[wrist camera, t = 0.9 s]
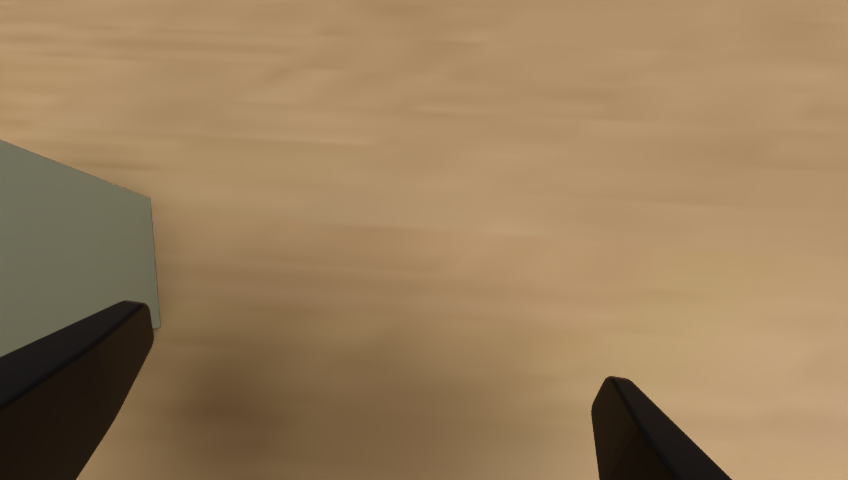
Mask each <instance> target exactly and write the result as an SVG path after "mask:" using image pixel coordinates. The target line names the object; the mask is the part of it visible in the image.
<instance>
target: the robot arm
mask: <svg viewBox="0 0 848 480" xmlns="http://www.w3.org/2000/svg"><path fill="white" fill-rule="evenodd" d="M153 340H154V333H153V326H152V320H151V313H150V308H149V306H148V305H147V304H146V303H143V302H137V301H130V300H124V301H121V302H118V303H116V304H114V305H112V306H110V307H107V308H105V309H103V310H101V311H99V312H97V313H94V314H92V315H90V316H88V317H86V318H84V319H81V320H79V321H77V322H75V323H73V324H71V325H68V326H66V327H64V328H62V329H60V330H58V331H55V332H53V333H51V334H49V335H47V336H45V337H42V338H40V339H38V340H36V341H34V342H32V343H29V344H27V345H25V346H23V347H21V348H19V349H16V350H14V351H12V352H10V353H8V354H6V355H3V356H1V357H0V480H76V479H77V477H78V476H79V474H80V473H81V471H82V469H83V468H84V466H85V465H86V463H87V462H88V460H89V459H90V457H91V456H92V454H93V453H94V451H95V449H96V448H97V446H98V445H99V443H100V442H101V440H102V439H103V437H104V436H105V434H106V432H107V431H108V429H109V428H110V426H111V424H112V423H113V421H114V420H115V418H116V416H117V414H118V412H119V410H120V408H121V407H122V405H123V403H124V401H125V399H126V397H127V395H128V393H129V391H130V389H131V387H132V385H133V383H134V381H135V379H136V377H137V375H138V373H139V371H140V369H141V367H142V365H143V363H144V361H145V359H146V357H147V355H148V353H149V351H150V349H151V347H152V344H153ZM591 415H592V424H593V432H594V440H595V448H596V456H597V464H598V472H599V479H600V480H732V479H731V478H730V477H729V476H728V475H727V474H726V473H725V472H724V471H723V470H722V469H721V468H720V467H719V466H718V465H716V464H715V463H714V462H713V461H712V460H711V459H710V458H709V457H708V456H707V455H706V454H705V453H704V452H703V451H702V450H701V449H700V448H699V447H698V446H697V445H696V444H695V443H694V442H693V441H692V440H691V439H690V438H689V437H688V436H687V435H686V434H685V433H684V432H683V431H682V430H681V429H680V428H679V427H678V426H677V425H676V424H675V423H674V422H673V421H672V420H671V419H670V418H669V417H667V416H666V415H665V414H664V413H663V412H662V411H661V410H660V409H659V408H658V407H657V406H656V405H655V404H654V403H653V402H652V401H651V400H650V399H649V398H648V397H647V396H646V395H645V394H644V393H643V392H642V391H641V390H640V389H639V388H638V387H637V386H636V385H635V384H634V383H633V382H632V381H630V380H629V379H626V378H621V377H614V376H609V377H607V378H606V379H605V380H604V382H603V384H602V386H601V388H600V390H599V392H598V394H597V396H596V398H595V400H594V402H593V405H592V410H591Z"/></svg>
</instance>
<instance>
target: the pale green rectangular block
mask: <svg viewBox="0 0 848 480" xmlns="http://www.w3.org/2000/svg"><path fill="white" fill-rule="evenodd" d="M124 300H130V301H137V302H143V303H146V304H147V305H148V306H149V308H150V313H151V320H152V326H153V329H154V328H159V327H160V315H159V302H158V290H157V277H156V264H155V252H154V239H153V227H152V214H151V201H150V198H148V197H146V196H143V195H141V194H138V193H135V192H133V191H130V190H128V189H125V188H123V187H120V186H118V185H115V184H112V183H110V182H107V181H105V180H102V179H100V178H97V177H95V176H92V175H89V174H87V173H84V172H82V171H79V170H77V169H74V168H72V167H69V166H66V165H64V164H61V163H59V162H56V161H54V160H51V159H49V158H46V157H43V156H41V155H38V154H36V153H33V152H31V151H28V150H25V149H23V148H20V147H18V146H15V145H13V144H10V143H8V142H5V141H2V140H0V357H1V356H3V355H6V354H8V353H10V352H12V351H14V350H16V349H19V348H21V347H23V346H25V345H27V344H29V343H32V342H34V341H36V340H38V339H40V338H42V337H45V336H47V335H49V334H51V333H53V332H55V331H58V330H60V329H62V328H64V327H66V326H68V325H71V324H73V323H75V322H77V321H79V320H81V319H84V318H86V317H88V316H90V315H92V314H94V313H97V312H99V311H101V310H103V309H105V308H107V307H110V306H112V305H114V304H116V303H118V302H121V301H124Z"/></svg>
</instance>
